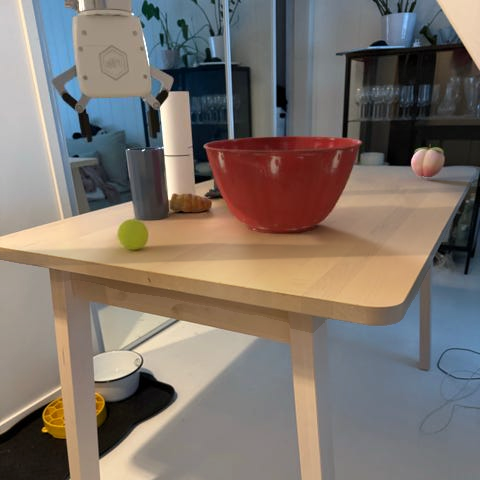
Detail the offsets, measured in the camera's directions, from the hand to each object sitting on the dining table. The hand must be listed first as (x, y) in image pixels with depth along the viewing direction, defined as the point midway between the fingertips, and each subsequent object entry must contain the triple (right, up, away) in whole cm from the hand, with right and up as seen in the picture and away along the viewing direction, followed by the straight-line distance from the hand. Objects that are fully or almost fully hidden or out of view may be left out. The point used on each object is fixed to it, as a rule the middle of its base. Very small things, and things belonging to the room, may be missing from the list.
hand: (122, 139), depth 70 cm
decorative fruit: (+74, +15, +68) cm, 102 cm away
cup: (-1, -5, +30) cm, 31 cm away
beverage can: (+13, +5, +51) cm, 53 cm away
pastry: (+6, -2, +36) cm, 36 cm away
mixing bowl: (+26, -9, +20) cm, 34 cm away
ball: (0, -16, +7) cm, 17 cm away
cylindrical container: (+3, +4, +50) cm, 50 cm away
